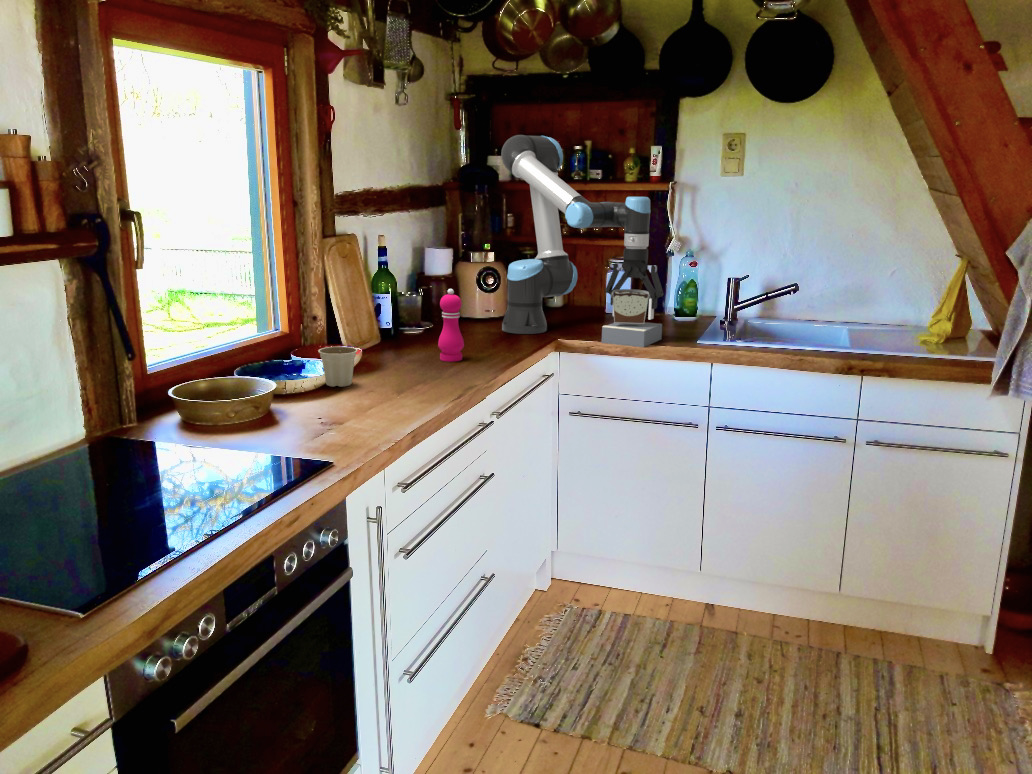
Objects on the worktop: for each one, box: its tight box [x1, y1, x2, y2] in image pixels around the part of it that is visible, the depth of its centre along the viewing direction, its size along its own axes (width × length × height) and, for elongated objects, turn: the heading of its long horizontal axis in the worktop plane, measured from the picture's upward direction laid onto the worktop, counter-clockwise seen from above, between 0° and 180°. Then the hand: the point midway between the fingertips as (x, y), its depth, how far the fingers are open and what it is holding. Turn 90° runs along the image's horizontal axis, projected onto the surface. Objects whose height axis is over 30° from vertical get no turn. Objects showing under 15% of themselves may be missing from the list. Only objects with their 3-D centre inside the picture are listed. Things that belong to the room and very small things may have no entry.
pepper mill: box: [437, 288, 465, 363], centre depth 232 cm, size 7×7×20 cm
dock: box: [601, 322, 663, 348], centre depth 264 cm, size 14×16×5 cm
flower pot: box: [317, 346, 358, 388], centre depth 204 cm, size 9×9×9 cm
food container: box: [610, 288, 651, 324], centre depth 262 cm, size 12×6×10 cm, turn 86°
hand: (632, 317), depth 263 cm, fingers closed on food container, 11 cm apart
